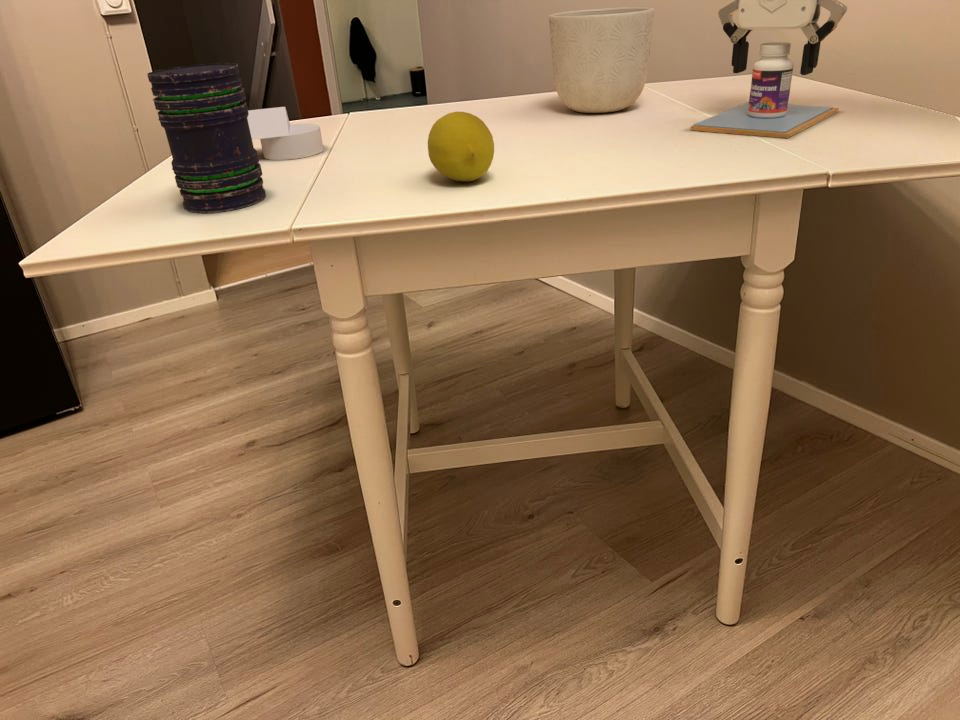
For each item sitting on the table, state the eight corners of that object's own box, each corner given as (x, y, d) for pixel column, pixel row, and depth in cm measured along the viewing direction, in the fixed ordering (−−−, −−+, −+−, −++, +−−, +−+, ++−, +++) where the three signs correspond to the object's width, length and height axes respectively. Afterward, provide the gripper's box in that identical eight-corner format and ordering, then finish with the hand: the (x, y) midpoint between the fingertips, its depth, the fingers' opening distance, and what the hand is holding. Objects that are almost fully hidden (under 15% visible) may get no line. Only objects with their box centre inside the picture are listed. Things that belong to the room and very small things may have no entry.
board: (838, 111, 107) (839, 106, 106) (787, 138, 94) (788, 132, 94) (747, 106, 115) (748, 101, 115) (690, 130, 103) (690, 124, 102)
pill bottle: (740, 116, 105) (747, 45, 100) (760, 110, 108) (768, 41, 103) (774, 120, 101) (783, 46, 96) (793, 113, 104) (803, 41, 99)
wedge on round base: (234, 165, 102) (324, 155, 104) (222, 117, 99) (316, 107, 101) (239, 153, 110) (322, 143, 112) (228, 108, 107) (315, 99, 109)
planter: (646, 98, 128) (651, 5, 121) (652, 116, 114) (658, 11, 106) (553, 103, 131) (551, 11, 124) (547, 120, 116) (545, 18, 109)
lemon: (503, 186, 83) (500, 115, 79) (438, 194, 82) (431, 123, 78) (485, 166, 92) (481, 101, 88) (426, 173, 91) (419, 108, 87)
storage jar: (239, 185, 92) (210, 62, 85) (283, 195, 86) (256, 63, 79) (167, 206, 85) (129, 74, 78) (209, 218, 79) (172, 76, 72)
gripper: (714, -60, 96) (703, 75, 104) (849, -72, 86) (825, 78, 94) (737, -61, 101) (725, 68, 109) (868, -73, 90) (844, 70, 99)
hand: (772, 72), depth 101 cm, fingers open, 9 cm apart
